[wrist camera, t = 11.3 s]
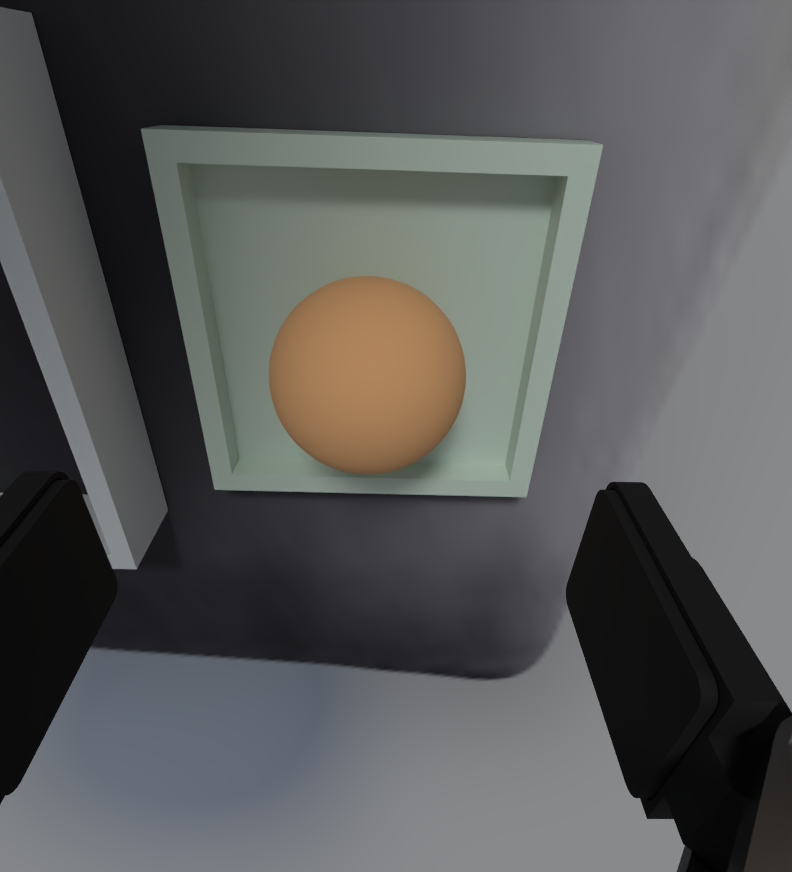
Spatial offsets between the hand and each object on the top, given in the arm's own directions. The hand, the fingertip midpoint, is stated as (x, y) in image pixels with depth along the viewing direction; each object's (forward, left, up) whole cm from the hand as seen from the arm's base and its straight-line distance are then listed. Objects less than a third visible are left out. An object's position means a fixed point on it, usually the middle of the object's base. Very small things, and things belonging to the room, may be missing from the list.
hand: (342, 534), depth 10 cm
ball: (+1, 0, -8) cm, 7 cm away
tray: (+1, 0, -11) cm, 11 cm away
